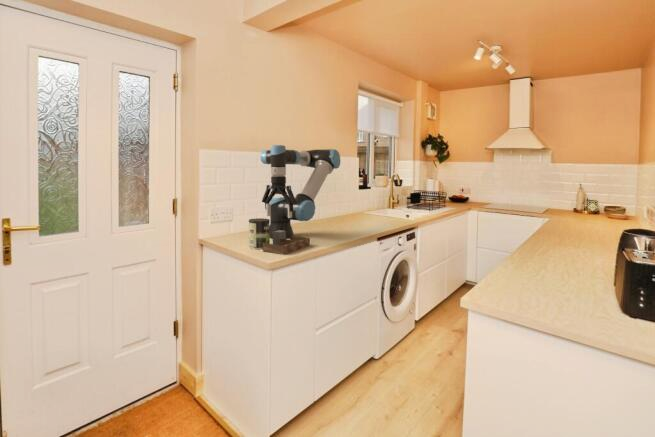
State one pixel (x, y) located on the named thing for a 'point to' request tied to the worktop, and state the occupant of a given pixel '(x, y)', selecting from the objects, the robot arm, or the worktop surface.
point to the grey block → (278, 236)
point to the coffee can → (258, 233)
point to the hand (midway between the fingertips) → (279, 216)
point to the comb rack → (287, 245)
